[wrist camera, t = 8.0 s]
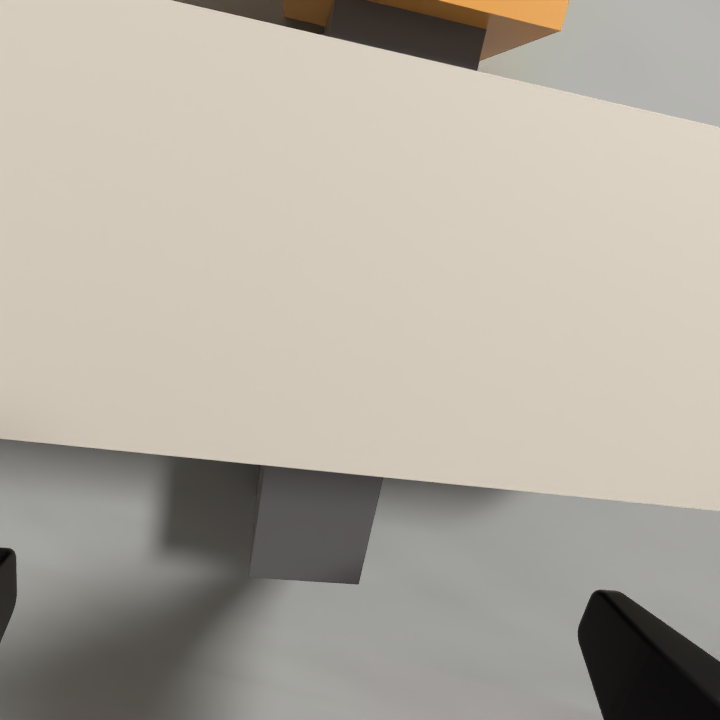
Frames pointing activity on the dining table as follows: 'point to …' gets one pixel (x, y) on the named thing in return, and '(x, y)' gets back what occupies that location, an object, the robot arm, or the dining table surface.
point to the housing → (350, 260)
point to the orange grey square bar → (351, 491)
